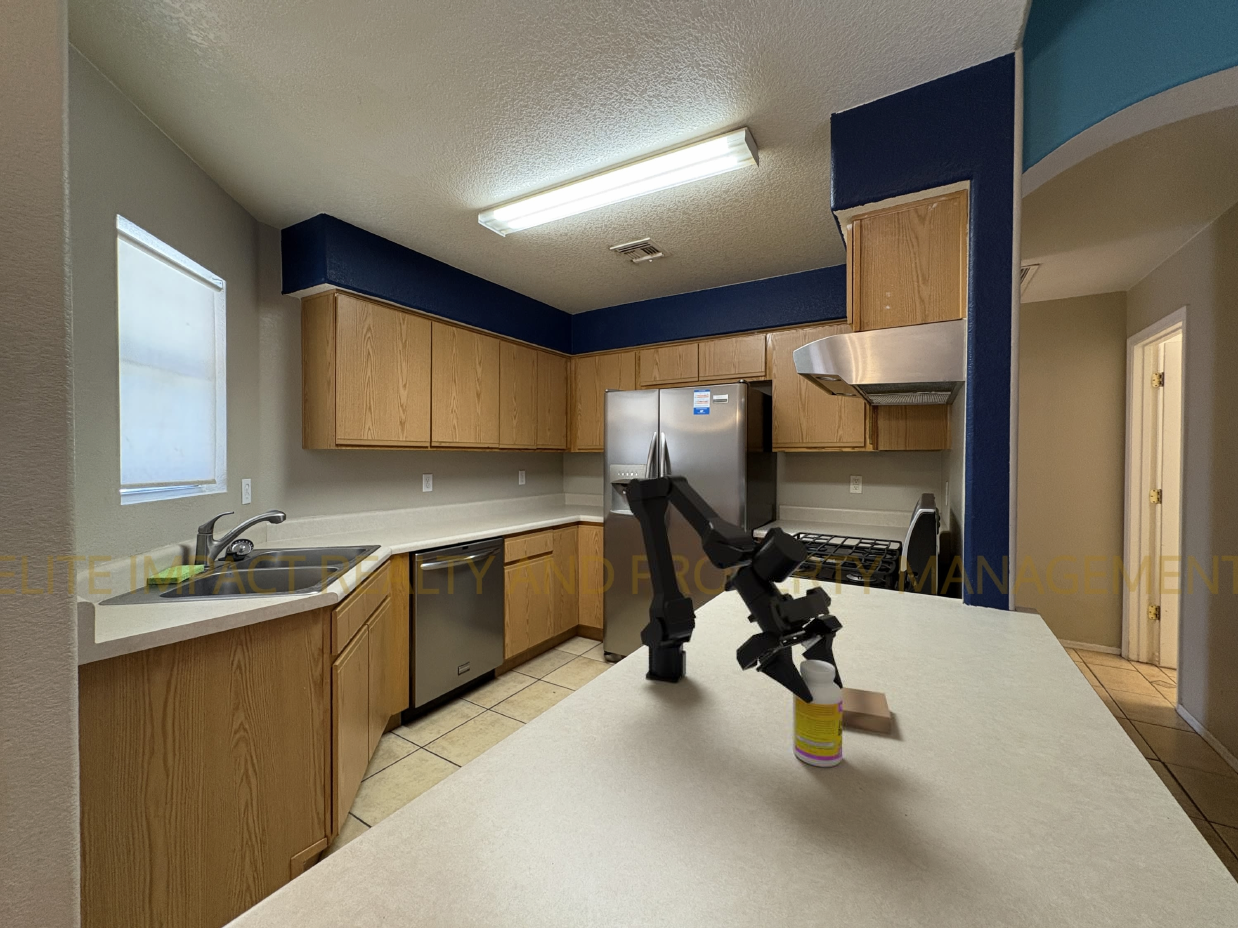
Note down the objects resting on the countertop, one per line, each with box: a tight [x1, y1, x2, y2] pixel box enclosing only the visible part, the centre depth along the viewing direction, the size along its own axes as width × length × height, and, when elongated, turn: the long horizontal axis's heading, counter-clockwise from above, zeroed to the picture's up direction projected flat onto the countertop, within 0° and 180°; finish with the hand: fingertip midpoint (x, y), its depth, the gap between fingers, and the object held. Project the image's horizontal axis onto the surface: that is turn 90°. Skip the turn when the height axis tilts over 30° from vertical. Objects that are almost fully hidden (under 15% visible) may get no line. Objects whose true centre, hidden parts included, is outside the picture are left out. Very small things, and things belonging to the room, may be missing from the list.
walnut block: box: [841, 686, 892, 735], centre depth 86 cm, size 9×9×2 cm
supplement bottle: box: [792, 659, 843, 768], centre depth 75 cm, size 7×7×13 cm
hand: (826, 695), depth 73 cm, fingers closed on supplement bottle, 7 cm apart
